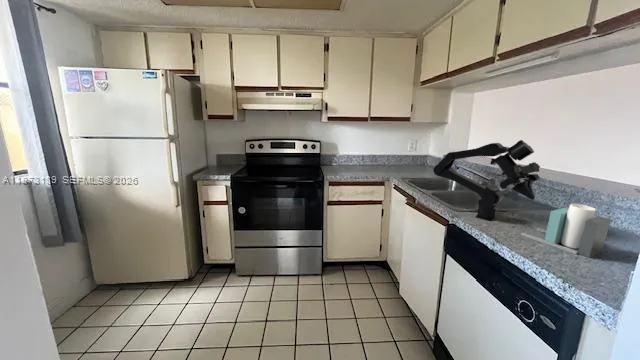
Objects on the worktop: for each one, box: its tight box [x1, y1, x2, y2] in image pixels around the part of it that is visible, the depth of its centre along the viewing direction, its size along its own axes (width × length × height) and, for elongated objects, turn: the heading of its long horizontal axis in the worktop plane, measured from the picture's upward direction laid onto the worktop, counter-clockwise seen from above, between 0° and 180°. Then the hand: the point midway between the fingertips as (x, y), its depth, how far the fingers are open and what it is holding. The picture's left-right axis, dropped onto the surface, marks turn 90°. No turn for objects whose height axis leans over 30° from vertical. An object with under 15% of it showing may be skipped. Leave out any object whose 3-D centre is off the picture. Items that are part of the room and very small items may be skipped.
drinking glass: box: [560, 203, 597, 250], centre depth 95 cm, size 7×7×15 cm
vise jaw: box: [544, 207, 569, 245], centre depth 99 cm, size 3×10×12 cm, turn 117°
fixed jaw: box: [521, 216, 612, 259], centre depth 98 cm, size 20×12×12 cm, turn 27°
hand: (533, 199), depth 107 cm, fingers closed
